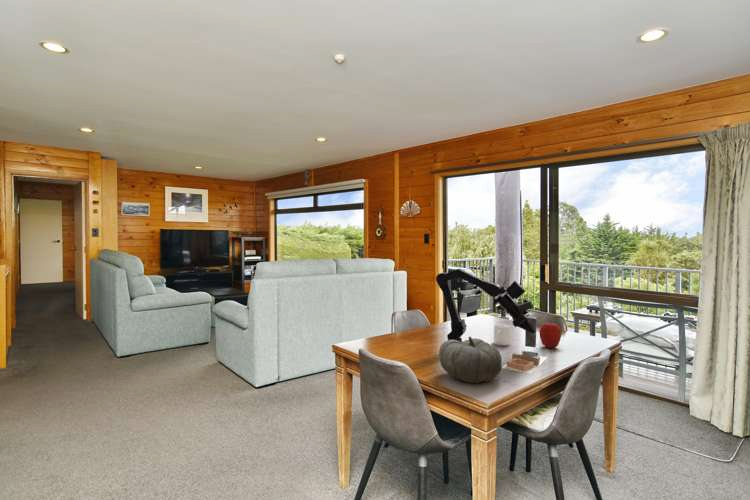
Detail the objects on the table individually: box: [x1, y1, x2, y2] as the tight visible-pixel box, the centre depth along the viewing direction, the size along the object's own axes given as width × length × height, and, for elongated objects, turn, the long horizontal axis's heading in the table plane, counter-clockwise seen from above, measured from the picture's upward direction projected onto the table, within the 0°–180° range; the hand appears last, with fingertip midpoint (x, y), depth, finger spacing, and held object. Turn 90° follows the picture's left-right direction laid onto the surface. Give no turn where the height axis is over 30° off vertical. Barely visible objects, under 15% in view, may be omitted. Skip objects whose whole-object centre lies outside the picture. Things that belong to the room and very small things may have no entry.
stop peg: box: [524, 315, 537, 348], centre depth 179 cm, size 4×4×13 cm
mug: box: [493, 323, 512, 346], centre depth 204 cm, size 12×8×10 cm
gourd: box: [438, 336, 503, 384], centre depth 157 cm, size 25×25×17 cm
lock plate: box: [501, 352, 548, 375], centre depth 174 cm, size 28×12×4 cm, turn 143°
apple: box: [539, 322, 562, 349], centre depth 201 cm, size 10×10×14 cm
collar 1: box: [506, 358, 534, 371], centre depth 168 cm, size 8×8×2 cm
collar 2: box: [520, 350, 541, 361], centre depth 180 cm, size 8×8×2 cm
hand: (534, 331), depth 179 cm, fingers closed on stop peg, 4 cm apart
